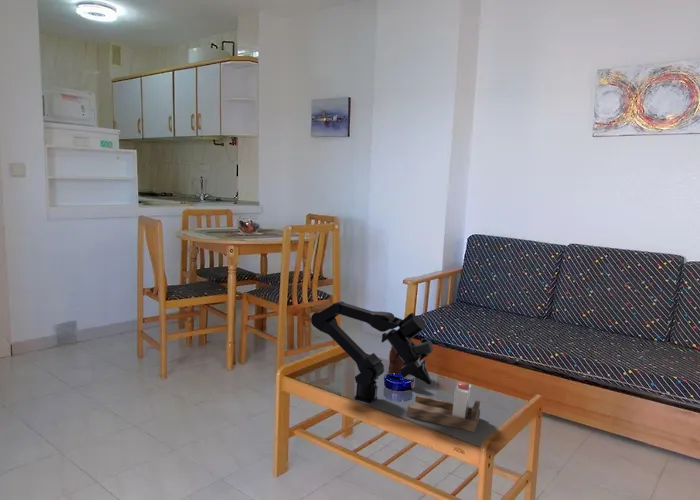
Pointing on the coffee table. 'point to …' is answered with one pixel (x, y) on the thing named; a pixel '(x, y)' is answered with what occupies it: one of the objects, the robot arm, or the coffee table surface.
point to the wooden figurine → (395, 361)
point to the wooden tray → (443, 413)
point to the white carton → (461, 400)
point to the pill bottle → (411, 378)
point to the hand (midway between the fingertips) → (430, 383)
